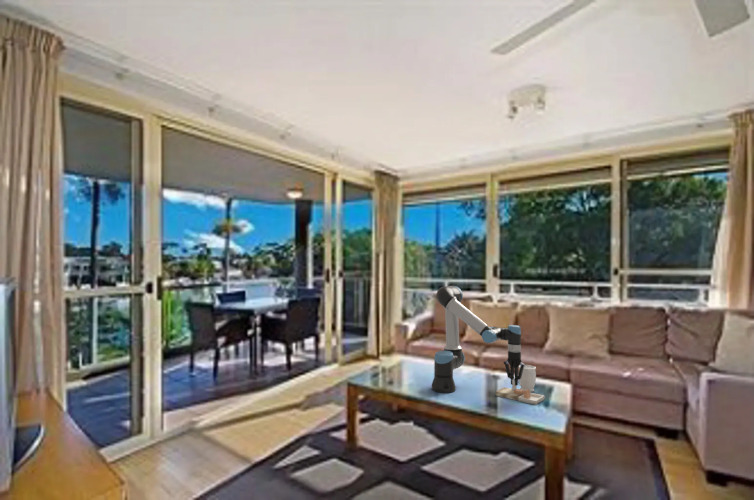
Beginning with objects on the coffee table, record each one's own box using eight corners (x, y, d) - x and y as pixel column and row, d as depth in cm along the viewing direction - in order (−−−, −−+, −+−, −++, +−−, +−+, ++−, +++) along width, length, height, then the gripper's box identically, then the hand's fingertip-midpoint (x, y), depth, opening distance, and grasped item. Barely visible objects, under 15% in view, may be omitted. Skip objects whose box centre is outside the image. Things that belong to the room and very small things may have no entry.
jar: (514, 388, 283) (515, 365, 283) (527, 387, 287) (527, 364, 287) (526, 393, 273) (526, 369, 273) (539, 391, 277) (539, 367, 277)
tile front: (523, 391, 261) (526, 391, 260) (526, 389, 264) (529, 389, 263) (524, 398, 260) (527, 399, 259) (527, 397, 264) (530, 397, 262)
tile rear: (513, 393, 265) (513, 390, 265) (516, 391, 268) (516, 388, 268) (521, 394, 262) (521, 391, 262) (524, 393, 265) (524, 390, 265)
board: (495, 395, 268) (495, 391, 268) (504, 391, 277) (504, 387, 277) (517, 400, 259) (517, 396, 259) (525, 395, 268) (525, 391, 268)
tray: (518, 401, 258) (518, 397, 258) (527, 395, 268) (527, 392, 269) (535, 404, 251) (535, 401, 251) (544, 399, 262) (544, 395, 262)
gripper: (501, 350, 269) (501, 389, 268) (522, 353, 260) (522, 393, 260) (506, 348, 275) (506, 387, 274) (527, 351, 266) (527, 391, 265)
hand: (514, 390), depth 267 cm, fingers closed
